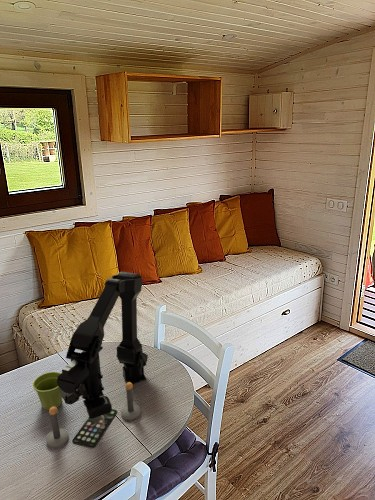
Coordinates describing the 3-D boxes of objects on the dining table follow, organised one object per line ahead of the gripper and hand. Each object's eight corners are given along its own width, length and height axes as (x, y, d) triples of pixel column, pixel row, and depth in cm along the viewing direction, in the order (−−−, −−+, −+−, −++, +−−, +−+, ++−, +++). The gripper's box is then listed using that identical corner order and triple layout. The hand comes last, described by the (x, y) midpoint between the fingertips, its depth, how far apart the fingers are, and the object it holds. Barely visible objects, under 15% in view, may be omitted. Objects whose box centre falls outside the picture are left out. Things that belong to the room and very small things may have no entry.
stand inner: (136, 404, 122) (134, 374, 118) (143, 416, 116) (141, 385, 113) (118, 410, 119) (116, 380, 115) (124, 423, 114) (122, 392, 110)
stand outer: (66, 428, 112) (62, 397, 108) (70, 443, 107) (66, 410, 103) (44, 436, 109) (39, 404, 106) (48, 451, 104) (42, 418, 101)
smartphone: (118, 410, 119) (94, 447, 105) (118, 412, 119) (94, 449, 105) (97, 405, 121) (70, 441, 107) (97, 407, 121) (70, 443, 107)
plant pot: (57, 416, 117) (54, 392, 114) (30, 411, 118) (26, 388, 116) (72, 395, 125) (69, 373, 123) (46, 391, 127) (43, 370, 124)
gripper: (54, 360, 111) (60, 404, 116) (67, 400, 95) (73, 448, 100) (92, 350, 116) (96, 392, 121) (110, 386, 100) (114, 432, 105)
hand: (94, 414), depth 112 cm, fingers closed
